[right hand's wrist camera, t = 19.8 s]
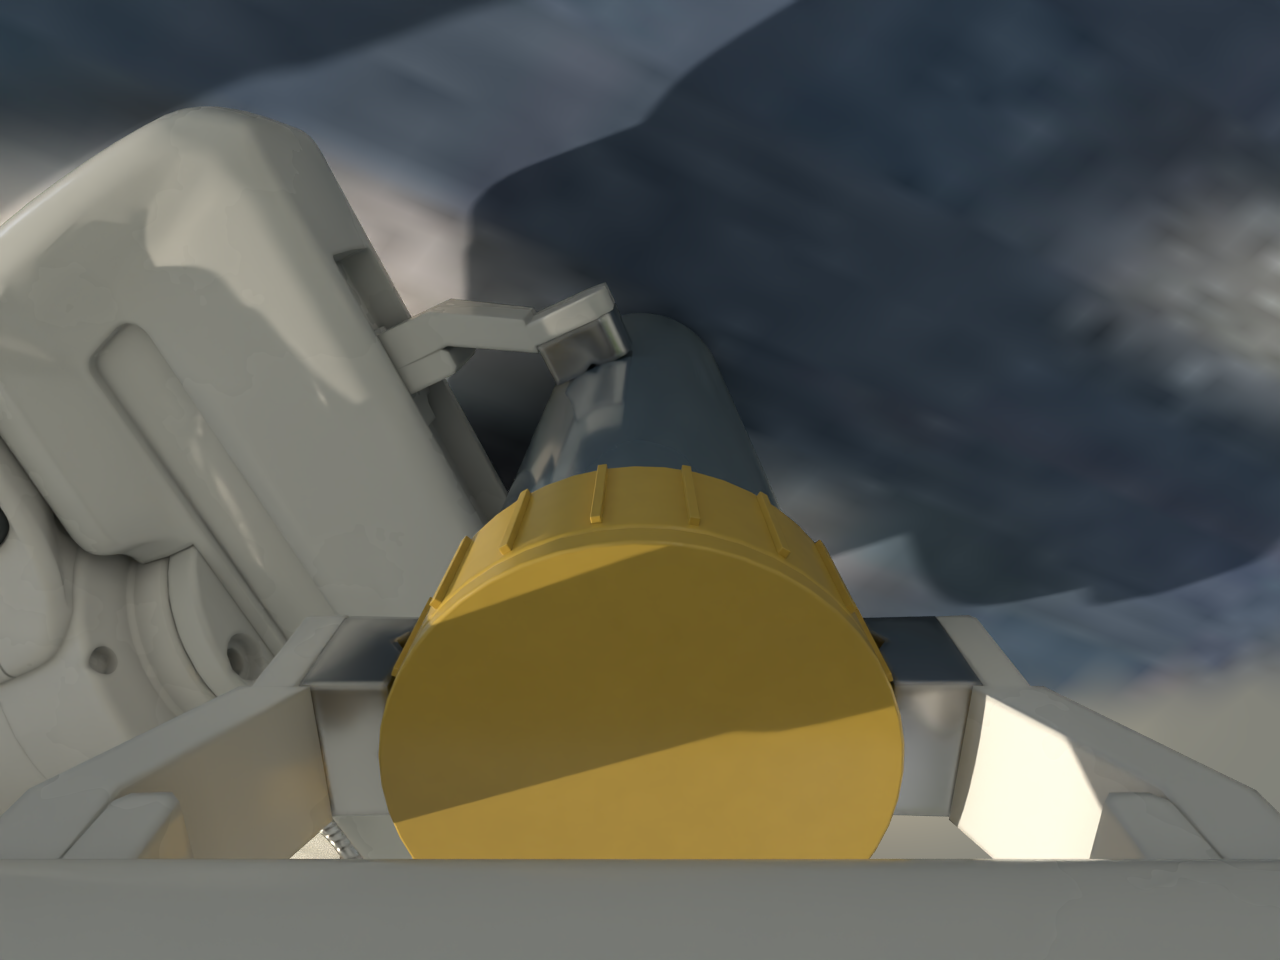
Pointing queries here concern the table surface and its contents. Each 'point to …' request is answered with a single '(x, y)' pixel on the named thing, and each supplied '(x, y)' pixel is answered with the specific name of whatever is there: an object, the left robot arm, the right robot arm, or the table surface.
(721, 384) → the jar
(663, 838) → the lid
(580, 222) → the table surface
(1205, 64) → the table surface
